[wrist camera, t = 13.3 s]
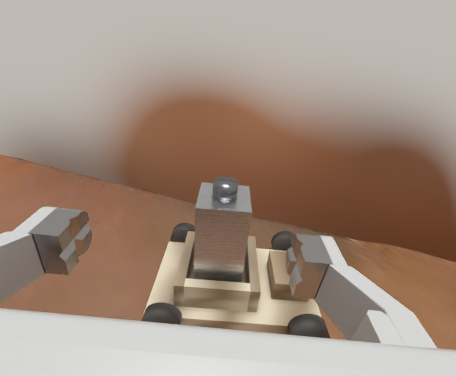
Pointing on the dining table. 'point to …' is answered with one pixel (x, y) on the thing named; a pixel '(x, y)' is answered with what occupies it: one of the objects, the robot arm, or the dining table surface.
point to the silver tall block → (221, 230)
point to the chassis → (232, 292)
